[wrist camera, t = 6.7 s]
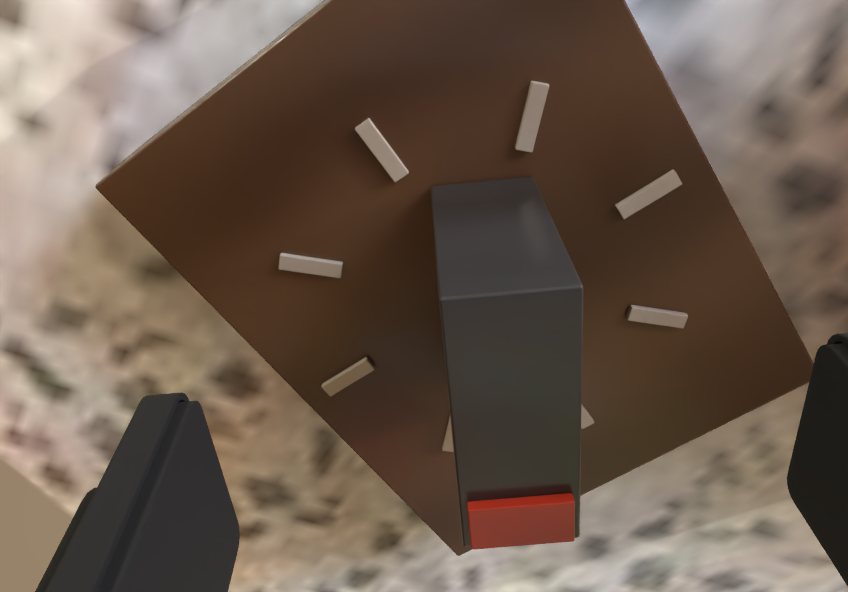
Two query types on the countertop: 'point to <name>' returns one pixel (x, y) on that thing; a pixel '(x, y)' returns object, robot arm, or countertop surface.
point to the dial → (510, 362)
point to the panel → (414, 234)
